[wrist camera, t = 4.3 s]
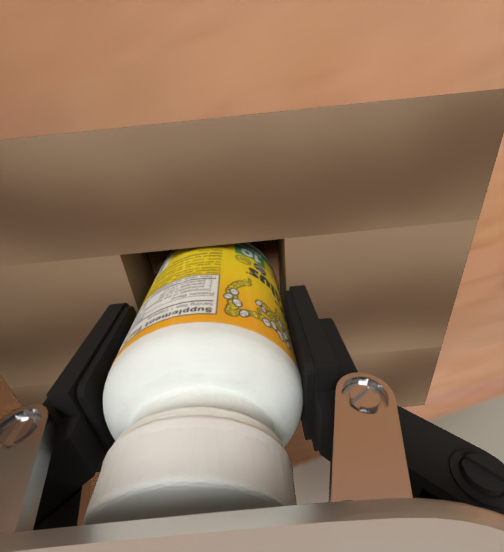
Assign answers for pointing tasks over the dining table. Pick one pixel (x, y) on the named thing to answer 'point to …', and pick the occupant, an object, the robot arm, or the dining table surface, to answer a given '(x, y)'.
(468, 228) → the brown board with hole
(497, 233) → the dining table surface
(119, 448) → the supplement bottle
